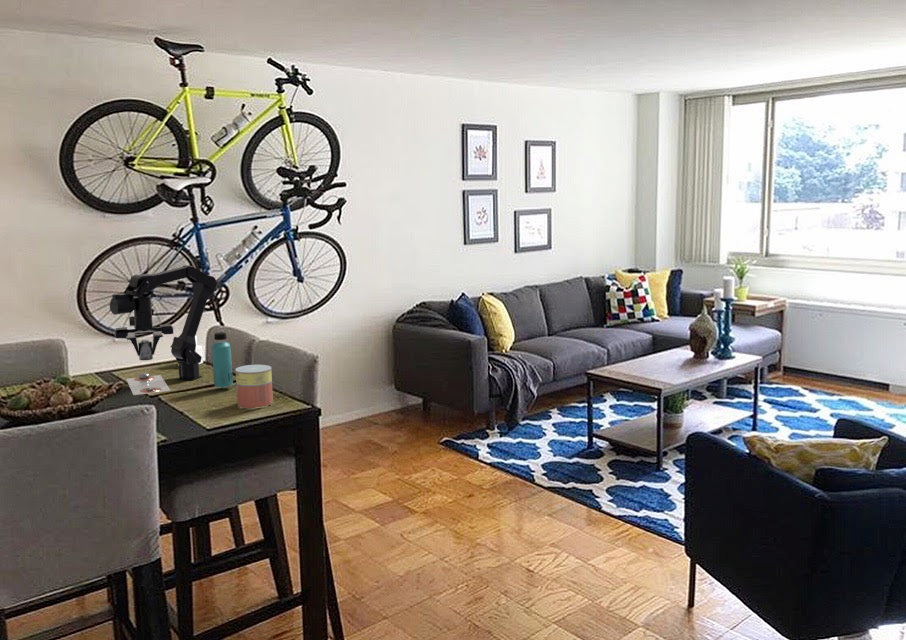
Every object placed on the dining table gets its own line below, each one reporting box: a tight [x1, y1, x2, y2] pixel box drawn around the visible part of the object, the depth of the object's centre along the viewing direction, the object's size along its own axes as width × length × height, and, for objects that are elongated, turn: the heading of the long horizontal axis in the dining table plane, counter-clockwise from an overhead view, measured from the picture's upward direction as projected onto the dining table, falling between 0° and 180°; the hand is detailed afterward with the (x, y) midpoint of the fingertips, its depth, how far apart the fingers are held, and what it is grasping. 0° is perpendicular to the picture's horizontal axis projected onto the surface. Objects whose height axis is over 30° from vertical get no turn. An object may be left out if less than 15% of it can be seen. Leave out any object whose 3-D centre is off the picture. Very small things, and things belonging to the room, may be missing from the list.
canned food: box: [235, 363, 274, 409], centre depth 246 cm, size 11×11×12 cm
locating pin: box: [137, 339, 154, 361], centre depth 268 cm, size 4×4×7 cm
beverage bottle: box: [211, 332, 234, 388], centre depth 265 cm, size 6×7×20 cm
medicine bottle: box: [177, 335, 204, 366], centre depth 304 cm, size 7×7×12 cm
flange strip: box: [125, 372, 171, 396], centre depth 274 cm, size 26×12×2 cm, turn 28°
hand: (145, 355), depth 268 cm, fingers closed on locating pin, 4 cm apart
